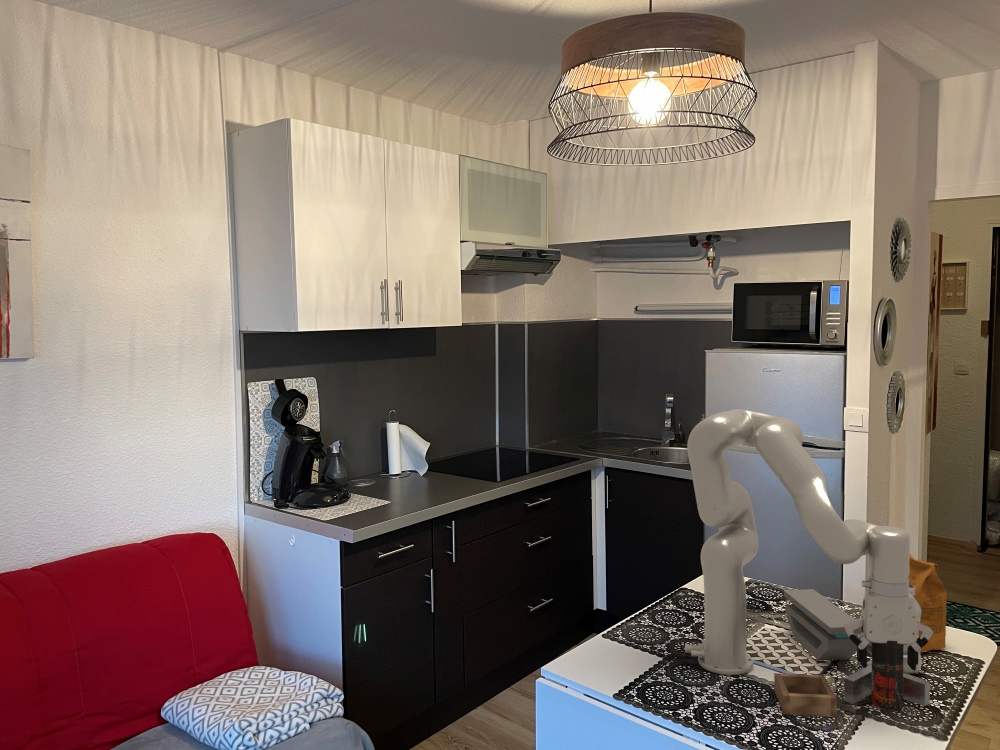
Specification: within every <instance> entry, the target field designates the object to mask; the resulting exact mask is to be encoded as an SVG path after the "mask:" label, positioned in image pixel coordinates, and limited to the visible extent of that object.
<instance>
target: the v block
mask: <svg viewBox="0 0 1000 750" xmlns="http://www.w3.org/2000/svg"><path fill="white" fill-rule="evenodd" d="M843 680H844V681H843V682H844V684H843V685H844V687H843V688H844V689H843V690H844V691H843V694H844V695H843V696H844V697H843V698H844V699H843V701H844V702H846V703H848V704H851V705H855V704H857V703H858V702H860V701H862V700H864V699H865V698H867V697H869V696H870V695H871V696H872V659H870V660H869V661H868V660H867V667H866V668H863V667H862V668H861V669H859V670H857V671H855V672H853V673H852V674H849V675H848V676H846V677H844V679H843ZM930 683H931V681H929V680H925V679H924V678H923V679H922V678H920V677H917V676H915V675H911V674H908V673H903V699H904V700H903V701H905V700H907V701H906V702H908V701H910V702H909V703H911V702H913V703H917V704H920V705H923V706H926V705H928V704H929V705H930V700H931V699H930V698H931V697H930V690H931V689H930V688H931V687H930V686H931V684H930ZM913 703H912V704H913ZM929 705H928V706H929Z"/></svg>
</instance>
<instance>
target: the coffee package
mask: <svg viewBox="0 0 1000 750" xmlns="http://www.w3.org/2000/svg"><path fill="white" fill-rule="evenodd" d="M937 570H939V566H938V564H937V563H933V562H927V561H923V560H918V559H915V558H914V556H913V555H912V554H911V553H910V559H909V584H911V585H913V586H915V595H914V598H915V599H916V601H917V602H918V604H919V605H920V607H921V618H920V623H921V624H923V625H925V626H927V627H929V628H930V629H931V630H932V631H933V634H932V636H931V637H930V639H929V640H928V643H927V644H926V645H925V646H924V647H922V648H921V651H920V654H922V653H924V652H925V653H926V652H929V651H932V650H936V651H939V650H940V651H941V650H942V649H945V648H946V636H947V632H946V631H947V630H946V629H947V628H946V627H947V600H948V599H947V595H948V593H947V591H946V589H945V587H944V584H943V583H942V581H941V578H940V577H939V576H938V574H937ZM922 633H923V632H922V631H920V630H919V633H918V634H919V636H918V637H920V636H921V635H922Z"/></svg>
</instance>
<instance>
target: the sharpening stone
mask: <svg viewBox="0 0 1000 750" xmlns="http://www.w3.org/2000/svg"><path fill="white" fill-rule="evenodd" d="M783 597H784V598H785V599H786V600H788V601H789V602H790V603H788V604H785V614H786V615H785V616H786V618H787V621H788V624H789V626H790V627H789V628H790V629H791V630H790V631H791V633H792V637H793V639H794V641H795V640H796V641H797V642H799V643H800V644H801V645H802V646H803V647H804V648H805V649H806V650H807V651H808V652H809V653H811V654H812V655H813V656H814V657H815V658H816V659H817V660H831V661H841V660H842V661H844V660H845V661H846V660H847V659H848V660H850V659H851V657H853V656H854V655H855V654H857V646H856V645H855V644H854V643H853V642H852V641H851V640H850V638H849V637H848V635H847V633H846V631H845V629H844V627H843V626H844V625H845V624H847V623H849V622H852V621H854V620H856V619H854V617H852V616H851V615H849V614H848V613H847V612H845V611H844V610H842V608H840V607H838V606H837V605H836V604H834V603H833V602H831V601H830V600H829V599H828V598H826V597H824V596H823V595H822V594H821V593H819V592H818V591H816V590H815V589H814V588H810V589H807V588H806V589H805V588H804V589H791V590H790V589H787V590H783ZM853 633H854V635H855V636H856V637H858V636H859V635H858V634H861V633H862V632H861V629H860V627H859V628H857V629H854V630H853ZM832 659H833V660H832Z"/></svg>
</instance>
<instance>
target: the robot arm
mask: <svg viewBox="0 0 1000 750" xmlns="http://www.w3.org/2000/svg"><path fill="white" fill-rule="evenodd" d="M803 442H804V433H803V431H802V429H801V427H800V425H799V424H798V423H797V422H795V421H794V420H792V419H789V418H788V417H787V418H786V417H782V416H777V415H772V414H767V413H763V412H758V411H752V410H748V409H741V408H736V409H729V410H725V411H722V412H721V411H720V412H718V413H715V414H712V415H709V416H707V417H705V418H704V419H702V420H701V421H699V422H698V423H697V424H696V425H695V426H694V427H693V428H692V430H691V432H690V434H689V436H688V440H687V455H688V461H689V465H690V470H691V477H692V483H693V488H694V493H695V500H696V505H697V506H696V507H697V510H698V515H699V517H700V520H701V521H702V522H703V524H705V525H706V526H708V527H710V528H714V529H717V528H718V531H717V532H716V533H714V534H713V535H711V536H710V537H708V539H706V540H705V542H704V543H703V544H702V548H701V551H700V564H701V569H702V577H703V599H704V639H702V641H701V642H702V643H698V644H692V643H691V644H687V643H685V644H684V652H685V653H688V654H690V656H691V657H697V662H698V665H700V667H702V668H703V669H704V670H706V671H709V672H710V673H711V672H712V673H715V674H719V675H726V676H737V675H744V674H746V673H749V672H750V671H752V670H753V668H754V660H753V658H752V657H751V656H750V655H748V654H747V589H746V580H745V577H744V572H743V571H744V567H745V566H746V565H747V564H748V563H750V562H751V561H752V560H753V559H754V558H755V557H756V555H757V554H758V550H759V546H760V545H759V536H758V535H759V534H758V529H757V524H756V519H755V513H754V508H753V503H752V499H751V496H750V494H749V492H748V490H747V489H746V488H745V487H744V486H743V485H742V484H740V483H739V482H737V481H734V480H731V476H730V469H729V466H728V462H727V461H726V458H725V456H724V452H725V451H726V450H728V449H731V448H734V447H737V446H739V445H745V446H749V447H753V448H755V451H756V452H757V454H759V456H760V457H761V458H762V460H763V461H764V462H765V464H766V465H767V467H768V468H769V469H770V470H771V471H772V472H773V474H774V475H775V476H776V478H777V479H778V480H779V482H780V484H782V485H783V488H785V490H786V491H787V493H788V494H789V495H790V497H791V499H792V501H793V505H794V507H795V509H796V512H797V514H798V516H799V519H800V521H801V522H802V525H803V526H804V528H805V530H806V531H807V532H808V534H809V535H810V537H811V538H812V540H814V542H815V544H817V547H819V549H820V550H821V551H822V552H823V554H824V555H826V557H828V558H829V559H830V560H831V561H833V562H835V563H837V564H839V565H840V564H841V565H849V564H853V563H854V564H855V562H857V561H858V560H859V559H861V558H862V556H868V563H869V564H868V576H867V579H865V580H861V587H862V588H866V589H865V592H864V595H863V600H862V604H861V612H860V617H859V618H857V619H855V620H854V621H852V622H849V623H847V624H845V625H844V626H843V627H844V629H845V631H846V633H847V635H848V637H849V638H850V640H851V641H852V642H853V643H854V644H855V645H856V646H857V652H856V661H857V662H858V663H859V664H860V666H861V667H862V669H863V668H866V667H867V662H868V650H867V648H866V647H867V646H869V644H870V643H871V644H872V643H882V644H883V643H887V641H897V643H898V644H910V646H908V648H907V664H908V665H909V667H910V668H911V669H912V670H916V665H918V657H919V652H920V651H921V648H922V647H924V646H925V645H926V644H927V643H928V640H929V639H930V637H931V636H932V634H933V631H932V630H931V629H930V628H929V627H927V626H925V625H923V624H921V623H919V622H917V619H916V609H915V603H914V598H913V595H911V594H910V593H909V559H910V554H911V553H910V551H911V549H910V548H911V537H910V534H909V533H908V532H907V530H905V529H903V528H900V527H897V526H890V525H877V524H874V523H871V522H867V521H864V520H859V519H854V518H850V519H845V520H842V518H841V517H840V515H839V514H838V513H837V512H836V510H835V508H834V506H833V505H832V502H831V501H830V498H829V496H828V490H827V479H826V476H825V474H824V472H823V470H822V469H821V468H820V467H819V465H818V464H817V463H816V462H815V460H814V459H813V458H812V457H811V455H810V454H809V453H808V452H807V451H806V448H804V447H803ZM859 627H860V629H861V632H862V633H859V635H858V637H856V636H855V635H854V633H853V630H854V629H857V628H859ZM917 629H918V630H920V631H922V632H923V633H922V635H921V636H920V637H918V638H917Z"/></svg>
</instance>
